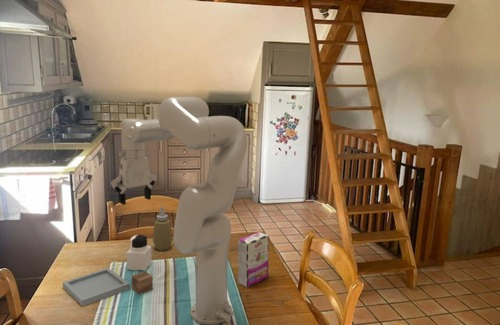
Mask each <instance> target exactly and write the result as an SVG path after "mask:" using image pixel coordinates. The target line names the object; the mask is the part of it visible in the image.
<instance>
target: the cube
mask: <svg viewBox="0 0 500 325" xmlns="http://www.w3.org/2000/svg"><path fill="white" fill-rule="evenodd" d="M153 282H154V280H153V275H152V274H150V273H149V272H148V271H140V272H138V273H136V274H133V275H131V290H132V289H133V291H134V292H135V291H136V292H137V294H138V295H139V294H140V295H142V294H141V293H143V294H145V293H148V292H150V291H153V290H154V287H153V286H154V285H153V284H154V283H153ZM152 289H153V290H152ZM149 290H150V291H149ZM147 291H148V292H147ZM136 292H135V293H136ZM144 292H145V293H144Z"/></svg>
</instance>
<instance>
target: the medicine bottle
mask: <svg viewBox="0 0 500 325" xmlns="http://www.w3.org/2000/svg"><path fill="white" fill-rule="evenodd" d="M129 240H130V242H129V243H130V245H129V246H130V248H129V250H127V251H126V254H125V255H126V270H127V269H133V270H132V271H137V270H148V268H149V267H150V266H151V264H152V263H151V262H153V260H152V258H153V257H152V246H151V245H148V237H147V236H146V235H143V234H135V235H133V236H132V237H131V238H130V239H129ZM150 263H151V264H150ZM149 265H150V266H149ZM148 266H149V267H148ZM147 267H148V268H147Z"/></svg>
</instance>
